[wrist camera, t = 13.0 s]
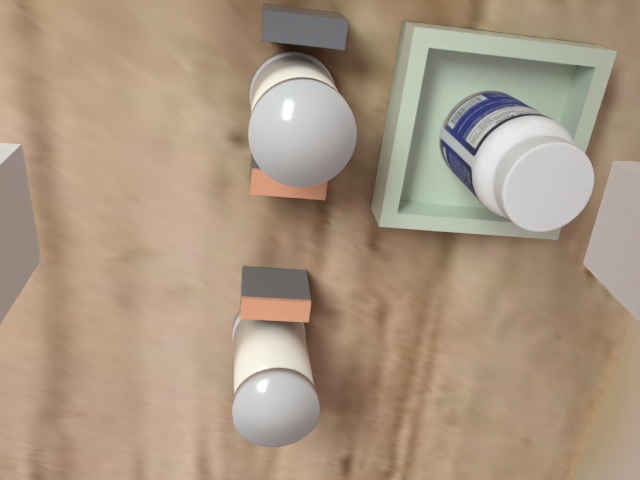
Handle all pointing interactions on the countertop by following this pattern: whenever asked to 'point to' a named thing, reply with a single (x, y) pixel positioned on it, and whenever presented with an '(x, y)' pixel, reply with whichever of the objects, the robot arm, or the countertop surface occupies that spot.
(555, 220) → the pill bottle
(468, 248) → the countertop surface
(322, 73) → the fuse
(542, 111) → the tray
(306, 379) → the white rounded cylinder
